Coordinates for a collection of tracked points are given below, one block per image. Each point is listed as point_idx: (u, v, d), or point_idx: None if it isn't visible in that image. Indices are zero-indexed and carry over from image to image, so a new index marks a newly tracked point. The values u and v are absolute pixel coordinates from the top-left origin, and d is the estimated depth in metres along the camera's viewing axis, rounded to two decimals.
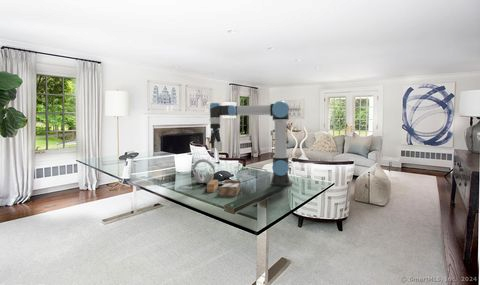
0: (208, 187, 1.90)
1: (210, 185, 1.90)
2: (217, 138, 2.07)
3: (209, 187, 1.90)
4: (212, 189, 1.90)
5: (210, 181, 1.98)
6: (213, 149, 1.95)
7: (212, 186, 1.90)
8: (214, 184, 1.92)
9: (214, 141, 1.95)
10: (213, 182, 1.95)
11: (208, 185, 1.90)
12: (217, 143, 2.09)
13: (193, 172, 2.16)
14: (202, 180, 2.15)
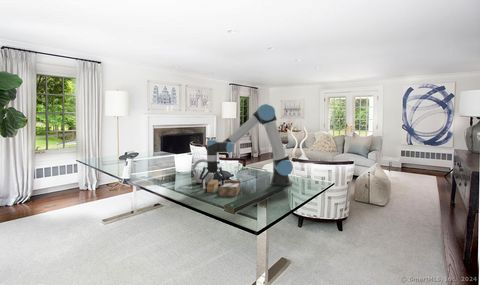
0: (208, 187, 1.90)
1: (210, 185, 1.90)
2: None
3: (209, 187, 1.90)
4: (212, 189, 1.90)
5: (210, 181, 1.98)
6: None
7: (212, 186, 1.89)
8: (214, 184, 1.91)
9: (203, 178, 1.96)
10: (213, 182, 1.95)
11: (208, 185, 1.90)
12: None
13: (193, 172, 2.16)
14: None
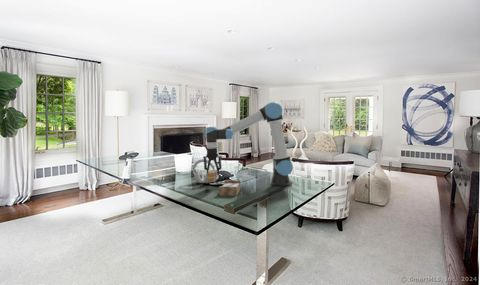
0: (209, 177, 1.89)
1: (210, 174, 1.89)
2: None
3: (209, 176, 1.89)
4: (212, 178, 1.89)
5: (210, 171, 1.97)
6: None
7: (212, 175, 1.89)
8: (214, 173, 1.91)
9: (207, 168, 1.95)
10: (213, 172, 1.94)
11: (208, 175, 1.89)
12: None
13: (193, 172, 2.16)
14: (202, 180, 2.15)
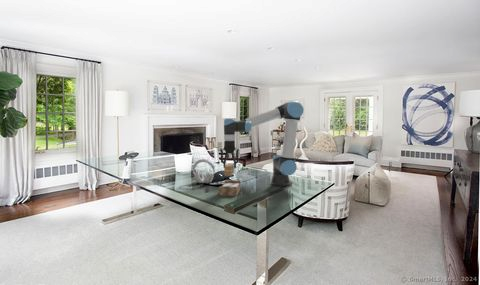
0: (226, 170, 1.83)
1: (228, 168, 1.82)
2: None
3: (227, 170, 1.83)
4: (230, 172, 1.82)
5: (227, 164, 1.91)
6: None
7: (230, 169, 1.82)
8: (232, 167, 1.84)
9: (224, 161, 1.88)
10: (230, 165, 1.87)
11: (225, 168, 1.82)
12: (233, 165, 1.89)
13: (193, 172, 2.16)
14: (202, 180, 2.15)
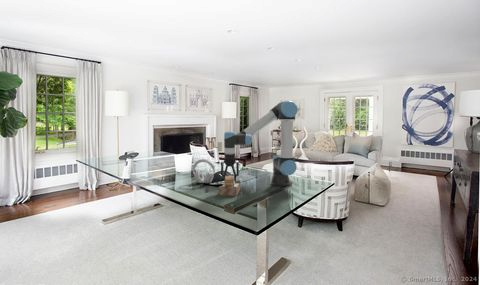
0: (226, 183, 1.83)
1: (228, 181, 1.83)
2: None
3: (227, 183, 1.83)
4: (230, 185, 1.83)
5: (227, 177, 1.92)
6: None
7: (230, 182, 1.83)
8: (232, 180, 1.85)
9: (224, 174, 1.89)
10: (230, 178, 1.88)
11: (226, 181, 1.83)
12: None
13: (193, 172, 2.16)
14: (202, 180, 2.15)
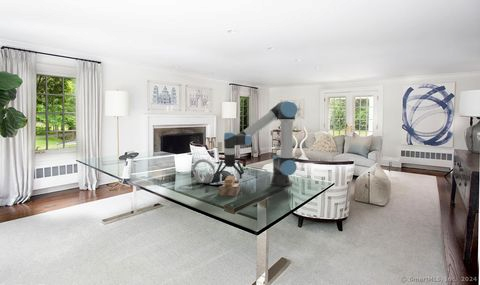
0: (226, 183, 1.83)
1: (228, 181, 1.83)
2: None
3: (227, 183, 1.83)
4: (230, 185, 1.83)
5: (227, 177, 1.92)
6: None
7: (230, 182, 1.83)
8: (232, 180, 1.85)
9: (220, 172, 1.90)
10: (230, 178, 1.88)
11: (226, 181, 1.83)
12: None
13: (193, 172, 2.16)
14: (202, 180, 2.15)
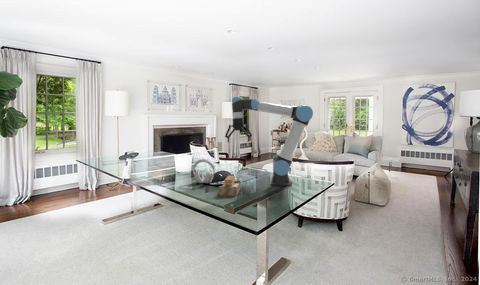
0: (226, 183, 1.83)
1: (228, 181, 1.83)
2: (245, 133, 1.97)
3: (227, 183, 1.83)
4: (230, 185, 1.83)
5: (227, 177, 1.92)
6: (229, 143, 1.99)
7: (230, 182, 1.83)
8: (232, 180, 1.85)
9: (229, 136, 1.97)
10: (230, 178, 1.88)
11: (226, 181, 1.83)
12: (247, 139, 1.98)
13: (193, 172, 2.16)
14: (202, 180, 2.15)
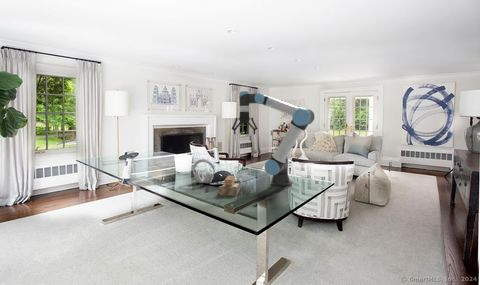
0: (226, 183, 1.83)
1: (228, 181, 1.83)
2: (251, 126, 2.06)
3: (227, 183, 1.83)
4: (230, 185, 1.83)
5: (227, 177, 1.92)
6: None
7: (230, 182, 1.83)
8: (232, 180, 1.85)
9: (235, 128, 2.07)
10: (230, 178, 1.88)
11: (226, 181, 1.83)
12: None
13: (193, 172, 2.16)
14: (202, 180, 2.15)
